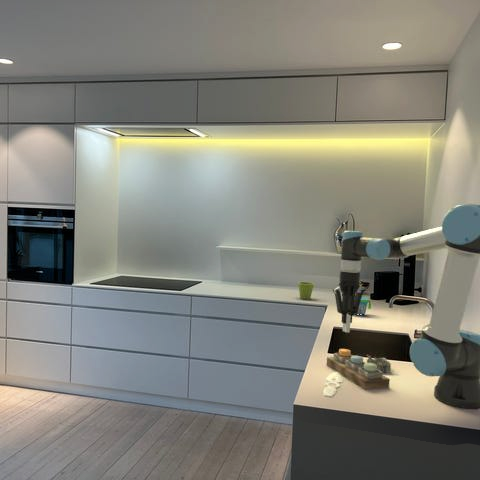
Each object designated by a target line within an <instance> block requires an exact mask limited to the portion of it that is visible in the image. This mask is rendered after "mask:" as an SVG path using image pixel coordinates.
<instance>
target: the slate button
mask: <svg viewBox="0 0 480 480" xmlns="http://www.w3.org/2000/svg"><path fill="white" fill-rule="evenodd" d="M363 362H364V357H363V356H361V355H353V356H351V363H352V364H354V365H360V364H363Z"/></svg>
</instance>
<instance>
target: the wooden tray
mask: <svg viewBox="0 0 480 480" xmlns="http://www.w3.org/2000/svg"><path fill="white" fill-rule="evenodd" d="M351 356H354V355H353V354H350V357H343V358H342V357H340V356H339V352H335V353H334V352H333V356H327V357H326V365H327V366H328V367H329V366H330V367H329V368H331V369H332V370H334V372H335V371H337V372H339V373H340V374H342V375H343V377H344V378H346V379H348V381H351V382H353V383H354V384H355V385H357V386H358V387H359V388H361V389H363V390H373V389H374V390H375V389H386V388H387V389H388V388H390V378H389V377H387V376H385V375H383V374H384V373H383V372H384V371H379V370H378V369H377V372H373V373H368V372H366V371H364V363H366V362H365V361H363V364H360V365H354V364H352V363H351Z"/></svg>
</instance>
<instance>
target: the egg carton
mask: <svg viewBox="0 0 480 480" xmlns="http://www.w3.org/2000/svg"><path fill="white" fill-rule="evenodd" d="M366 357H367V359H366V363H373V364H376V365H377V369H378V370H379V371H381V372H384V373H390V372H391V369H392V368H391V367H392V366H391V365H392V363H391V362H390V361H388V360H387V358H386V357H378V358H377V357H376V356H375V357H374V358H372V355H369V354H366Z"/></svg>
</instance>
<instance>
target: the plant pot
mask: <svg viewBox="0 0 480 480" xmlns="http://www.w3.org/2000/svg"><path fill="white" fill-rule="evenodd" d="M297 284H298V290H299V292H298V294H299V298H300V300H308V301H309V300H311V297H312V293H313V290H314V285H315V283H313V282H309V281H298V282H297Z"/></svg>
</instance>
